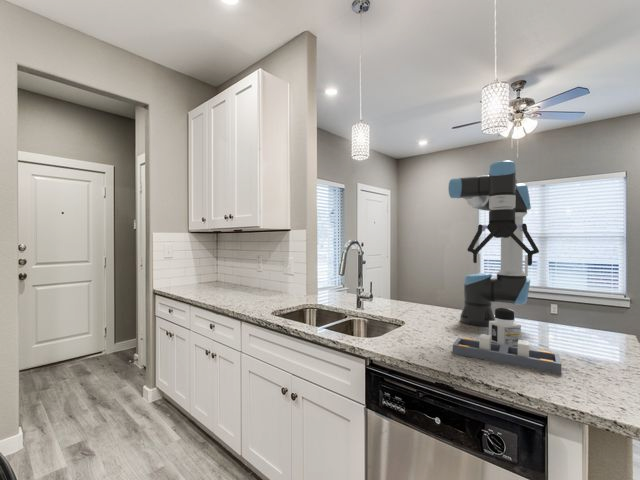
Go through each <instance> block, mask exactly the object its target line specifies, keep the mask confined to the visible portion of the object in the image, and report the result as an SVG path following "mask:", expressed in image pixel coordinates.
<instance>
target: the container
mask: <svg viewBox="0 0 640 480" xmlns="http://www.w3.org/2000/svg"><path fill="white" fill-rule="evenodd" d="M515 313H516V312H515V310H513V309H511V308H507V307H498V308H495V309H494V317H495V321H489V326H488V335H491V343H495V344H501V345H507V346H513V347H516V346H518V340H522V325H521V324H520V323H517V322H516V321H515V318H516V316H515Z"/></svg>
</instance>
